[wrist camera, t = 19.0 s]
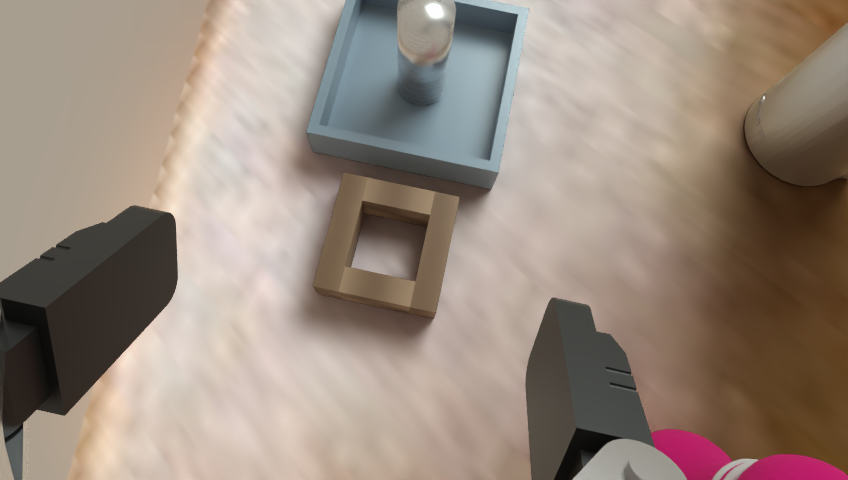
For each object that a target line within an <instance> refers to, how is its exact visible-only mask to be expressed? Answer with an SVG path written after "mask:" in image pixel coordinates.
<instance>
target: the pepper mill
mask: <svg viewBox="0 0 848 480" xmlns="http://www.w3.org/2000/svg"><path fill="white" fill-rule="evenodd" d="M651 436H652V439H653V442H654V445H655V448H656V449H657V450H659V451H660V452H662V453H663V454H665V455H666V456H667V457H669V458H670V459H671V460H672V461H673V462H674V463H675V464H676V465H677V466H678V467H679V468H680V470H681V471H682V472H683V474H684V475H685V477H686V478H687V480H848V475H847V474H845V473H844V472H842V471H841V470H839V469H837V468H836V467H834V466H832V465H830V464H828V463H825V462H823V461H821V460H817V459H814V458H811V457H807V456H801V455H795V454H779V455H772V456H769V457H766V458H763V459H761V460H757V459H740V460H736V461H732V460H731V459H730V457H729V456H728V455H727V454H726V453H725V452H724V451H722V450H721V449H720V448H719V447H718V446H716V445H715V444H714V443H712V442H711V441H709V440H708V439H706V438H704V437H702V436H700V435H697V434H694V433H691V432H687V431H682V430H677V429H665V430H660V431H656V432H653V433H651Z"/></svg>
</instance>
